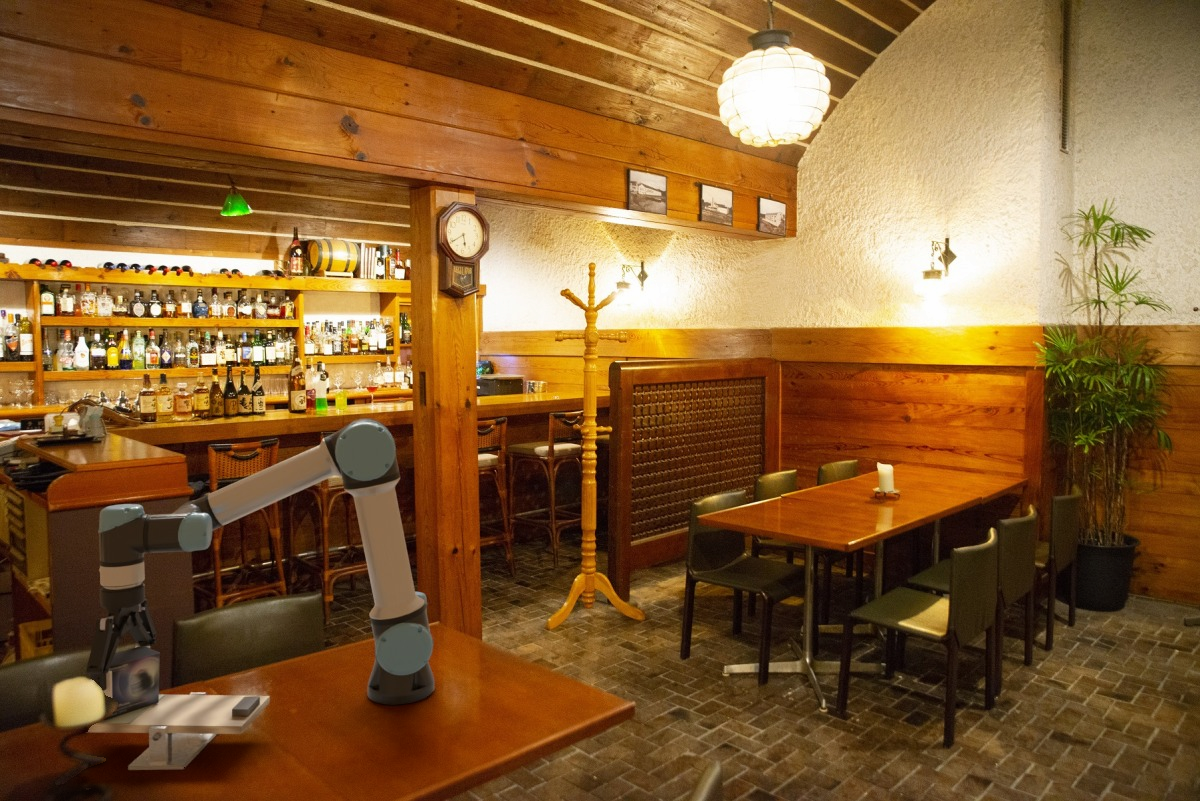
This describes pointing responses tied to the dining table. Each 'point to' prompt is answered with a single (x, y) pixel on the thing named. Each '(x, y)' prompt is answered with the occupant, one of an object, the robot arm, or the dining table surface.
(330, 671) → the dining table surface
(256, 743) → the dining table surface
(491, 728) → the dining table surface
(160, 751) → the pivot stand
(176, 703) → the balance beam
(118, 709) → the small box
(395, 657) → the robot arm
